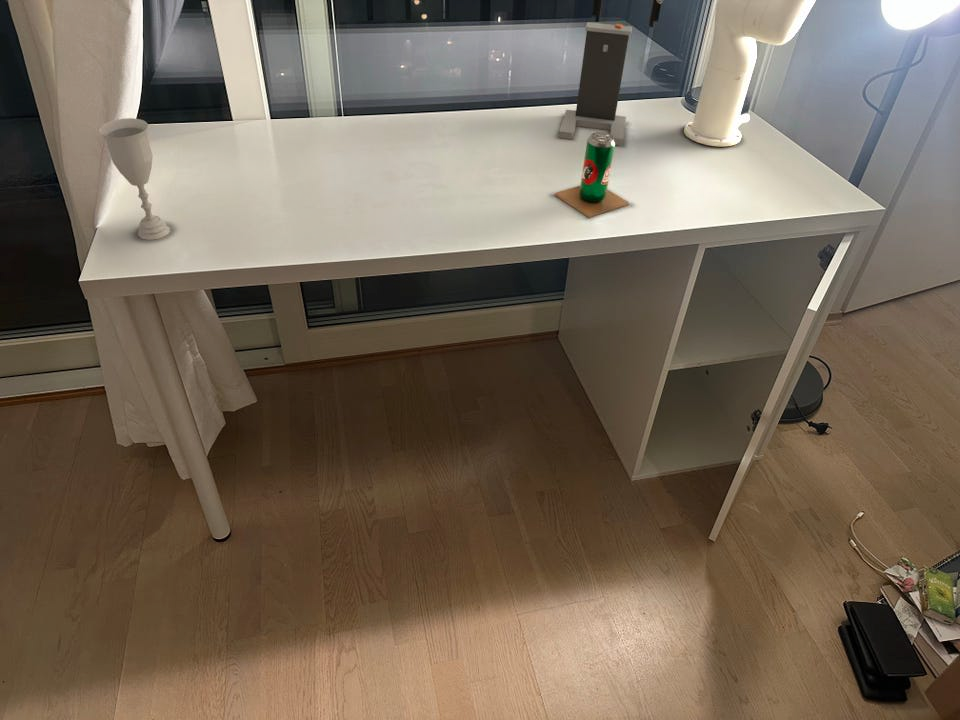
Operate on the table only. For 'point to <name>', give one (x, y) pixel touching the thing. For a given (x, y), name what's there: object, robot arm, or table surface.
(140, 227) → the chalice
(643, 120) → the table surface
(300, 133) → the table surface
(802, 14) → the robot arm
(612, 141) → the soda can
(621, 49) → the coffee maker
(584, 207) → the mat
